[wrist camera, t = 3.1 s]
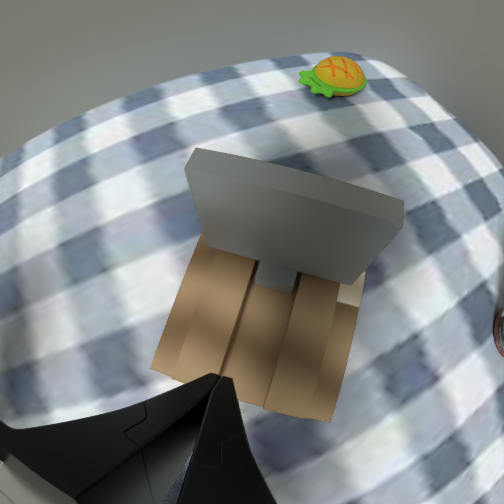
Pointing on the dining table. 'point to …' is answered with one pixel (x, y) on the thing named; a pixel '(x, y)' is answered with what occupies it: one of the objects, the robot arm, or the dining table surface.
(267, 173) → the switch lever
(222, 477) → the robot arm
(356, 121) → the dining table surface
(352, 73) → the toy pineapple
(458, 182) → the dining table surface
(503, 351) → the supplement bottle
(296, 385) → the switch base
